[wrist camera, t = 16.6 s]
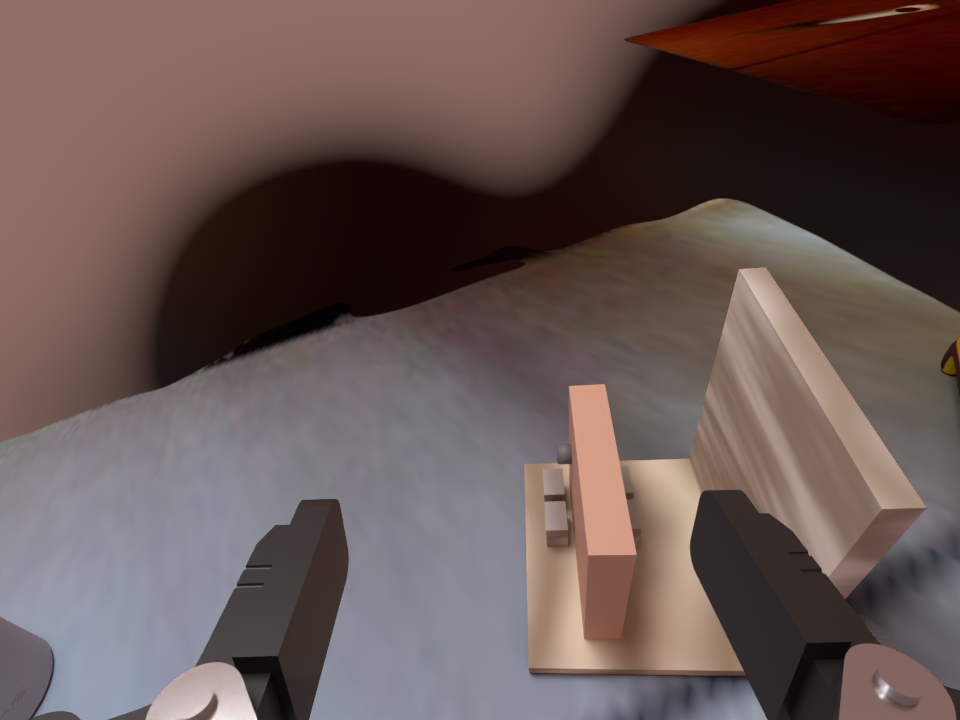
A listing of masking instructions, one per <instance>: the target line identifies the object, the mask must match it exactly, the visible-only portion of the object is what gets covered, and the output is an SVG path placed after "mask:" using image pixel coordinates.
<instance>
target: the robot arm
mask: <svg viewBox="0 0 960 720" xmlns="http://www.w3.org/2000/svg"><path fill="white" fill-rule="evenodd" d="M690 555H691V561H692V565H693V568H694V570H695V573H696V575H697V577H698V579H699V581H700V583H701V585H702V587H703V589H704V591H705V593H706V595H707V597H708V599H709V601H710V603H711V605H712V607H713V609H714V611H715V613H716V615H717V617H718V619H719V621H720V623H721V626H722V628H723V630H724V632H725V634H726V636H727V638H728V640H729V642H730V644H731V646H732V648H733V650H734V652H735V654H736V656H737V658H738V660H739V662H740V664H741V666H742V668H743V670H744V672H745V674H746V676H747V678H748V680H749V683H750V685H751V687H752V689H753V691H754V693H755V695H756V697H757V699H758V701H759V703H760V705H761V707H762V709H763V711H764V713H765V715H766V717H767V719H768V720H960V690H956V689H952V688H949V687H946V686H943V685H942V684H941V683H940V682H939V681H938V680H937V679H936V678H935V677H934V675H933V674H931V673H930V672H929V671H928V670H927V669H926V668H925V667H923V666H922V665H921V664H919V663H918V662H916V661H915V660H913V659H912V658H910V657H908V656H907V655H905V654H903V653H901V652H899V651H897V650H894V649H892V648H889V647H886V646H882V645H881V644H880V643H879V642H878V641H877V640H876V638H875V637H874V636H873V635H872V633H871V632H870V631H869V629H868V628H867V627H866V626H865V624H864V623H863V622H862V620H861V619H860V618H859V616H858V615H857V614H856V613H855V611H854V610H853V609H852V607H851V606H850V605H849V604H848V602H847V601H846V600H845V598H844V597H843V596H842V594H841V593H840V592H839V591H838V589H837V588H836V587H835V585H834V584H833V583H832V582H831V580H830V579H829V578H828V576H827V575H826V574H823V573H822V569H821V567H820V566H819V565H818V563H817V562H816V561H815V560H814V558H813V557H812V556H809V554H808V550H807V549H806V548H805V547H804V545H803V544H802V543H801V541H800V540H799V539H798V538H797V536H796V535H795V534H794V532H793V531H792V530H791V529H789V528H788V527H787V526H785V525H784V524H783V523H781V522H780V521H779V520H777V519H776V518H775V517H773V516H772V515H771V514H769V513H759V512H758V511H757V509H756V508H755V506H754V505H753V504H752V502H751V501H750V500H749V498H748V497H747V495H746V494H745V493H744V492H743V491H741V490H705V491H703V492H702V493H701V495H700V499H699V503H698V508H697V512H696V517H695V521H694V526H693V530H692V535H691V540H690ZM348 559H349V557H348V547H347V541H346V536H345V530H344V525H343V519H342V514H341V508H340V504H339V501H338V500H337V499H320V500H302V501H301V502H300V503H299V505H298V507H297V510H296V512H295V514H294V517H293V519H292V521H291V523H290V525H275V526H274V527H273V528H272V529H271V530H270V531H269V532H268V533H267V534H266V535H265V536H264V537H263V538H262V539H261V540H260V541H259V542H258V543H257V545H256V547H255V549H254V551H253V553H252V555H251V557H250V559H249V561H248V563H247V565H246V570H244V571H243V573H242V575H241V577H240V579H239V581H238V583H237V588H235V589H234V591H233V593H232V595H231V597H230V599H229V601H228V603H227V605H226V607H225V609H224V611H223V613H222V615H221V617H220V619H219V621H218V623H217V625H216V627H215V629H214V631H213V633H212V635H211V637H210V639H209V641H208V643H207V645H206V647H205V649H204V651H203V653H202V655H201V657H200V659H199V661H198V662H197V664H196V666H195V667H194V668H192V669H190V670H188V671H186V672H184V673H183V674H181V675H180V676H178V677H177V678H176V679H174V680H173V681H172V682H170V683H169V684H168V685H167V686H166V687H165V688H164V689H163V690H162V692H161V693H160V694H159V695H158V696H157V698H156V699H155V701H154V702H153V703H152V704H150V705H148V706H146V707H143V708H141V709H138V710H135V711H132V712H129V713H126V714H123V715H121V716H118V717H115V718H112V719H109V720H309V717H310V714H311V710H312V706H313V702H314V699H315V695H316V691H317V687H318V684H319V680H320V676H321V672H322V669H323V665H324V661H325V657H326V654H327V650H328V646H329V642H330V639H331V635H332V631H333V627H334V624H335V620H336V616H337V612H338V609H339V605H340V601H341V597H342V594H343V590H344V586H345V582H346V578H347V573H348ZM52 666H53V656H52V652H51V648H50V647H49V645H48V644H47V642H46V641H45V640H43V639H41V638H40V637H38V636H36V635H34V634H32V633H30V632H28V631H27V630H25V629H23V628H21V627H19V626H17V625H15V624H13V623H11V622H9V621H7V620H5V619H4V618H2V617H0V720H29V719H30V718H31V716H32V715H33V713H34V711H35V710H36V708H37V707H38V705H39V703H40V702H41V700H42V698H43V696H44V693H45V691H46V689H47V687H48V684H49V681H50V677H51V673H52ZM30 720H80V719H79V718H78V717H77V716H76V715H74V714H73V713H70V712H65V711H57V712H51V713H46V714H43V715H40V716H37V717H35V718H33V719H30Z"/></svg>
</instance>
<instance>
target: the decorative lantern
mask: <svg viewBox="0 0 960 720" xmlns="http://www.w3.org/2000/svg"><path fill="white" fill-rule="evenodd" d="M941 369H942V371H943V372H944V373H946V374H949V375H954V374H956V375H957V381H958V387H959V393H960V339H958V340H956V341H955V342H954V343H953V344H951V346H950V347H949V349H948V350H947V352H946V353H945V355H944V357H943V360H942V362H941Z"/></svg>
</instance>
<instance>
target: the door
mask: <svg viewBox="0 0 960 720" xmlns="http://www.w3.org/2000/svg"><path fill="white" fill-rule="evenodd" d="M557 460H558V464H569V488H570V498H571V509H572V519H573V530H574V540H575V551H576V561H577V571H578V582H579V592H580V603H581V613H582V624H583V634H584V639H618V640H621V635H622V630H623V624H624V619H625V614H626V609H627V603H628V598H629V593H630V587H631V582H632V577H633V572H634V566H635V561H636V556H637V554H636V549H635V543H634V538H633V532H632V527H631V522H630V516H629V511H628V506H627V500H626V495H625V490H624V484H623V479H622V474H621V468H620V463H619V457H618V452H617V447H616V441H615V436H614V431H613V425H612V420H611V415H610V409H609V404H608V399H607V393H606V388H605V384H601V385H581V386H569V444H566V445H557Z"/></svg>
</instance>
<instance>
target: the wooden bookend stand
mask: <svg viewBox="0 0 960 720" xmlns="http://www.w3.org/2000/svg"><path fill="white" fill-rule="evenodd" d="M619 463H620V468H621V474H622V479H623V484H624V490H625V495H626V500H627V506H628V511H629V516H630V522H631V527H632V532H633V538H634V543H635V549H636V554H637V556H636V561H635V566H634V572H633V577H632V582H631V587H630V593H629V598H628V603H627V609H626V614H625V619H624V624H623V630H622V635H621V640H618V639H584V634H583V624H582V613H581V603H580V592H579V582H578V571H577V561H576V551H575V540H574V530H573V519H572V509H571V498H570V488H569V464H558V463H546V464H524V471H525V516H526V562H527V607H528V652H529V672H530V673H573V674H642V675H712V676H746V674H745V672H744V670H743V668H742V666H741V664H740V662H739V660H738V658H737V656H736V654H735V652H734V650H733V648H732V646H731V644H730V642H729V640H728V638H727V636H726V634H725V632H724V630H723V628H722V626H721V623H720V621H719V619H718V617H717V615H716V613H715V611H714V609H713V607H712V605H711V603H710V601H709V599H708V597H707V595H706V593H705V591H704V589H703V587H702V585H701V583H700V581H699V579H698V577H697V575H696V573H695V570H694V568H693V565H692V561H691V555H690V540H691V535H692V530H693V526H694V521H695V517H696V512H697V508H698V503H699V499H700V495H701V493H702V492H703V491H705V490H741V491H743V492H744V493H745V494H746V495H747V497H748V498H749V500H750V501H751V502H752V504H753V505H754V506H755V508H756V509H757V511H758V512H759V513H769V514H771V515H772V516H773V517H775V518H776V519H777V520H779V521H780V522H781V523H783V524H784V525H785V526H787V527H788V528H789V529H791V530H792V531H793V532H794V534H795V535H796V536H797V538H798V539H799V540H800V541H801V543H802V544H803V545H804V547H805V548H806V549H807V550H808V554H809V556H812V557H813V558H814V560H815V561H816V562H817V563H818V565H819V566H820V567H821V569H822V573H823V574H826V575H827V576H828V578H829V579H830V580H831V582H832V583H833V584H834V585H835V587H836V588H837V589H838V591H839V592H840V593H841V594H842V596H843V597H844V598H845V599H846V598H847V596H848V595H849V594H850V593H851V592H852V591H853V590H854V589H855V587H856V586H857V585H858V584H859V583H860V582H861V581H862V580H863V579H864V577H865V576H866V575H867V574H868V573H869V572H870V571H871V570H872V568H873V567H874V566H875V565H876V564H877V563H878V562H879V561H880V560H881V558H882V557H883V556H884V555H885V554H886V553H887V552H888V551H889V549H890V548H891V547H892V546H893V545H894V544H895V543H896V542H897V540H898V539H899V538H900V537H901V536H902V535H903V534H904V533H905V532H906V530H907V529H908V528H909V527H910V526H911V525H912V524H913V523H914V521H915V520H916V519H917V518H918V517H919V516H920V515H921V514H922V513H923V511H924V510H925V509H926V506H925V505H924V503H923V502H922V500H921V499H920V497H919V496H918V494H917V493H916V491H915V490H914V488H913V487H912V485H911V484H910V482H909V481H908V479H907V478H906V476H905V475H904V473H903V472H902V470H901V469H900V467H899V466H898V464H897V463H896V461H895V460H894V459H893V457H892V456H891V454H890V453H889V451H888V450H887V448H886V447H885V445H884V444H883V442H882V441H881V439H880V438H879V436H878V435H877V433H876V432H875V430H874V429H873V427H872V426H871V424H870V423H869V421H868V420H867V418H866V417H865V415H864V414H863V412H862V411H861V409H860V408H859V406H858V405H857V403H856V402H855V400H854V399H853V397H852V396H851V394H850V393H849V391H848V390H847V388H846V387H845V385H844V384H843V382H842V381H841V379H840V378H839V376H838V375H837V373H836V372H835V370H834V369H833V367H832V366H831V364H830V363H829V361H828V360H827V358H826V357H825V355H824V354H823V352H822V351H821V349H820V348H819V346H818V345H817V344H816V342H815V341H814V339H813V338H812V336H811V335H810V333H809V332H808V330H807V329H806V327H805V326H804V324H803V323H802V321H801V320H800V318H799V317H798V315H797V314H796V312H795V311H794V309H793V308H792V306H791V305H790V303H789V302H788V300H787V299H786V297H785V296H784V294H783V293H782V291H781V290H780V288H779V287H778V285H777V284H776V282H775V281H774V279H773V278H772V276H771V275H770V273H769V272H768V270H767V269H766V267H764V268H750V269H739V271H738V275H737V279H736V283H735V287H734V290H733V294H732V298H731V302H730V305H729V309H728V313H727V317H726V320H725V324H724V328H723V332H722V336H721V339H720V343H719V347H718V351H717V354H716V358H715V362H714V366H713V370H712V373H711V377H710V381H709V385H708V388H707V392H706V396H705V400H704V403H703V407H702V411H701V415H700V419H699V422H698V426H697V430H696V434H695V437H694V441H693V445H692V449H691V452H690V456H689V459H667V460H637V461H619Z"/></svg>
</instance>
